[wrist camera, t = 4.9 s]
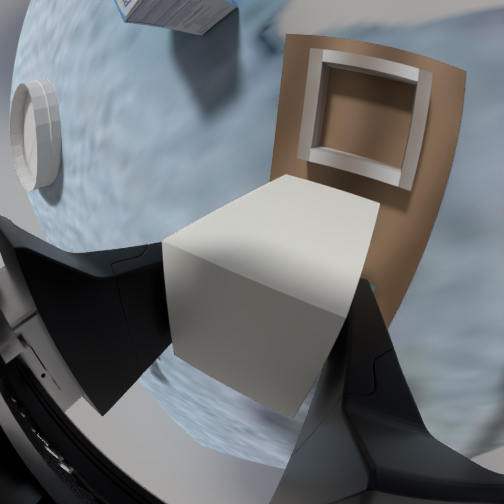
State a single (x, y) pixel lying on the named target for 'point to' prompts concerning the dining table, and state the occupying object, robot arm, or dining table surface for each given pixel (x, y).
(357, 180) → the socket board
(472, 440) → the dining table surface
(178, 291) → the plug
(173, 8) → the medicine box
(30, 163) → the dish
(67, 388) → the robot arm
